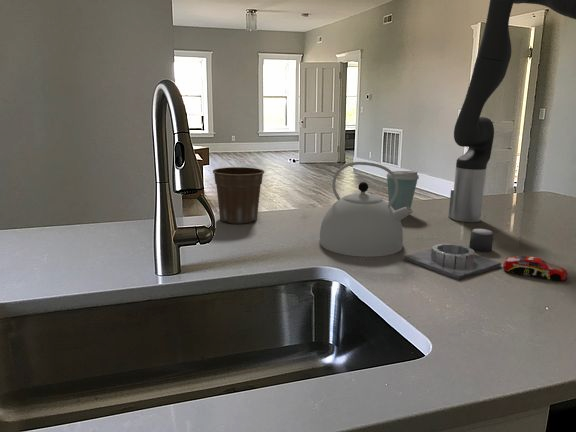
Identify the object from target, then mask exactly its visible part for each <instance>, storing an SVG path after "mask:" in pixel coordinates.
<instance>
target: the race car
mask: <svg viewBox="0 0 576 432" xmlns="http://www.w3.org/2000/svg"><path fill="white" fill-rule="evenodd" d="M502 269H503V270H504V271H506V272H508V273H510V274H512V275H516V276H521V275H522V276H526V277H532V278H539V279H542V280H543V279H544V280H551V281H553V282H560V281H565V280H567V279H568V278H569V277H568V276H569V273H568V271H567V269H565V268H563V267H562V266H560V265H556V264H552V263H549V262H547V261H545V260H544V259H542V258H541V257H535V256H530V255H517V256H516V255H515V256H508V257H506V259H505V261H504V262H503V266H502Z"/></svg>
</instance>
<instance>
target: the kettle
mask: <svg viewBox="0 0 576 432" xmlns="http://www.w3.org/2000/svg"><path fill="white" fill-rule="evenodd" d="M360 165H361V166H368V167H369V166H370V167H373V168H374V167H375V168H379V169H381V170H384V171H385V172H387V174H388V173H389V174H391V176H392V177H393V179H394V181H395V193H394V195H393V198H392V199H391V201H390V202H389V201H388V202H387V201H386V200H385V199H383V198H382V197H380V196H378V195H376V194H372V193H368V192H367V191H368V189H369V183H367V182H366V181H361V182H360V183H359V184H358V187H357V188H358V190H359V191H360V192H356V193H349V194H347V195H345V196H343V197H340V196H339V194H338V191H337V188H336V181H337V178H338V176H339V174H340V173H341V172H342V171H343V170H344V169H346V168H348V167H352V166H360ZM331 185H332V186H331V187H332V192H333V194H334V196H335V199H336V200H337V201H335V202H334V203H332V205H330V207H329V208H328V210H327V211H326V212H325V215H324V216H323V218H322V221H321V224H320V228H319V230H320V231H319V239H318V242H319V245H320V246H321V247H323V248H324V249H325V250H327V251H330V252H332V253H337V254H340V255H343V256H344V255H345V256H353V257H363V258H365V257H366V258H367V257H370V258H371V257H372V258H373V257H382V256H383V257H384V256H389V255H393V254H396V253H399V252H400V251H401V250H402V249H403V246H404V245H403V244H404V243H403V241H404V239H403V237H404V234H403V226H402V222H401V221H402V220H404V219H406V217H408V216H410V215H411V214H412V213H414V210H413V209H412V208H411V209H410V208H409V207H404V208H401V209H398V210H394V209H393V208H392V207H391V205H392V204H393V202H394V200H395V198H396V196H397V194H398V181H397V178H396V176H395V175H394V173H393V172H392V170H391V169H389V168H388V167H386V166H385V165H382V164H379V163H375V162H367V161H353V162H352V161H351V162H348V163H346V164H344V165H342V166H341V167H339V168H338V170H336V172H335V174H334V176H333V179H332V184H331Z"/></svg>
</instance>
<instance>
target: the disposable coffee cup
mask: <svg viewBox="0 0 576 432" xmlns="http://www.w3.org/2000/svg"><path fill="white" fill-rule="evenodd" d="M391 171H392V170H391ZM392 172H393V173H394V175H395V176H396V178H397V181H398V194H397V196H396V198H395V200H394V202H393V204H392V205H391V207H392V208H393V209H394V210H398V209H401V208H404V207H409V208H410V209H412V205H413V200H414V197H415V191H416V188H417V183H418V179H419V177H420V176H419V175H418V171H416V170H415V171H414V170H396V171H395V170H393V171H392ZM386 182H387V198H388V203H389V202H390V201H391V199H392V198H393V195H394V193H395V181H394V179H393V177H392V176H391V174H389V173H388V172H387V174H386Z"/></svg>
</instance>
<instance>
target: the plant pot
mask: <svg viewBox="0 0 576 432" xmlns="http://www.w3.org/2000/svg"><path fill="white" fill-rule="evenodd" d="M212 173H213V175H214V176H213V177H214V183H215V185H216V194H217V202H218V213H219V220H220V221H221V222H224V223H226V222H227V223H228V224H233V225H234V224H237V225H242V224H243V225H244V224H250V223H252V222H256V221H257V220H258V216H259V215H258V213H259V204H260V194H261V185H262V183H263V175H264V174H265V170H264V169H262V168H255V167H243V166H237V167H235V166H231V167H230V166H229V167H219V168H215V169H213V170H212Z"/></svg>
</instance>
